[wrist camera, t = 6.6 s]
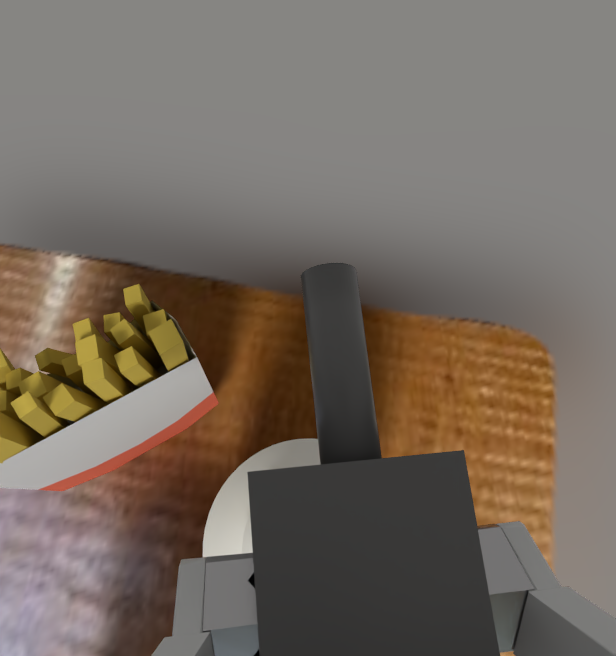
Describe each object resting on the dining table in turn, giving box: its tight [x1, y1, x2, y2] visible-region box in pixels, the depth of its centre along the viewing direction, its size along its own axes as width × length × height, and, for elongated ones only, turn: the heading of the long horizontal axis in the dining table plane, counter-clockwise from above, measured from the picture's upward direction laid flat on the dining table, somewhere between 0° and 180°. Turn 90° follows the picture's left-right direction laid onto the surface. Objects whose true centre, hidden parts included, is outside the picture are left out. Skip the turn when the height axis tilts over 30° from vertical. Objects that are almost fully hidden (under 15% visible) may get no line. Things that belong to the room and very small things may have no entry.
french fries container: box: [0, 284, 218, 491], centre depth 30 cm, size 5×11×18 cm, turn 121°
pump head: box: [247, 263, 500, 656], centre depth 14 cm, size 4×9×9 cm, turn 6°
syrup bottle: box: [203, 439, 320, 557], centre depth 27 cm, size 9×9×22 cm
